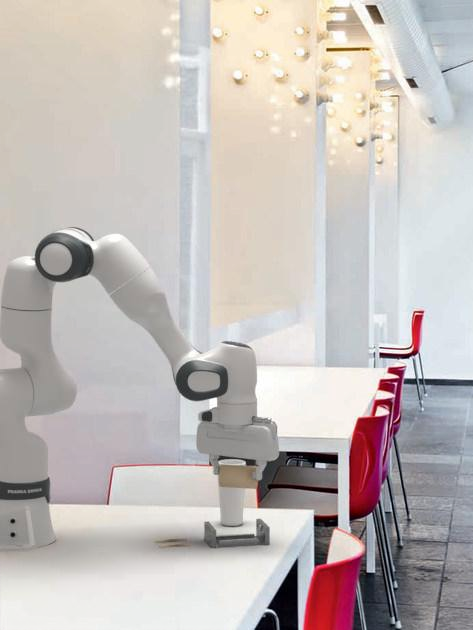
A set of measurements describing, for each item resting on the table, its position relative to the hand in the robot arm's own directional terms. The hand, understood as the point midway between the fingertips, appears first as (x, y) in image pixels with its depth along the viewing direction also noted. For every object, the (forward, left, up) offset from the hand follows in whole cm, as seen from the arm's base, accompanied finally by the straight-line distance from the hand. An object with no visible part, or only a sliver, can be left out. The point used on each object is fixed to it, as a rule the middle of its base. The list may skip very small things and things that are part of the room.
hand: (237, 477), depth 245 cm
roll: (0, 0, 0) cm, 0 cm away
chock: (-14, +2, -15) cm, 21 cm away
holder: (0, 0, -15) cm, 15 cm away
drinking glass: (+3, +18, -15) cm, 24 cm away
